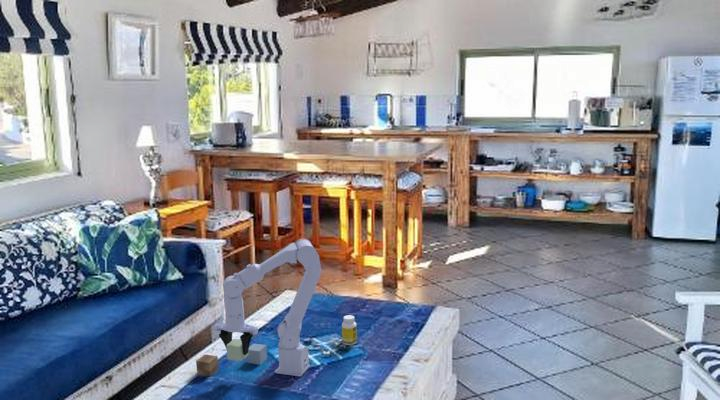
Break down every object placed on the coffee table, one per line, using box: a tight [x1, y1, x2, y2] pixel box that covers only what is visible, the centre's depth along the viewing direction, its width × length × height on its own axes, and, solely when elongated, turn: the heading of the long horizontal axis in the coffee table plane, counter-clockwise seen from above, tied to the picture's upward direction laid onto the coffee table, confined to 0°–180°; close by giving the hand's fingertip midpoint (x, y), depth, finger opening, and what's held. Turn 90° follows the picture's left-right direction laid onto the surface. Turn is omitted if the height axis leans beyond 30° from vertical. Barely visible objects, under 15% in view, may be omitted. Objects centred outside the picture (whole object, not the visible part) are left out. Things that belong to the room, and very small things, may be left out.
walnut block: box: [195, 354, 219, 378], centre depth 205 cm, size 5×5×5 cm
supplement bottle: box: [341, 314, 358, 346], centre depth 224 cm, size 5×5×10 cm
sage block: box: [226, 338, 249, 362], centre depth 200 cm, size 5×5×5 cm
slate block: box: [246, 343, 268, 366], centre depth 213 cm, size 5×5×5 cm
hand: (238, 352), depth 200 cm, fingers closed on sage block, 5 cm apart
